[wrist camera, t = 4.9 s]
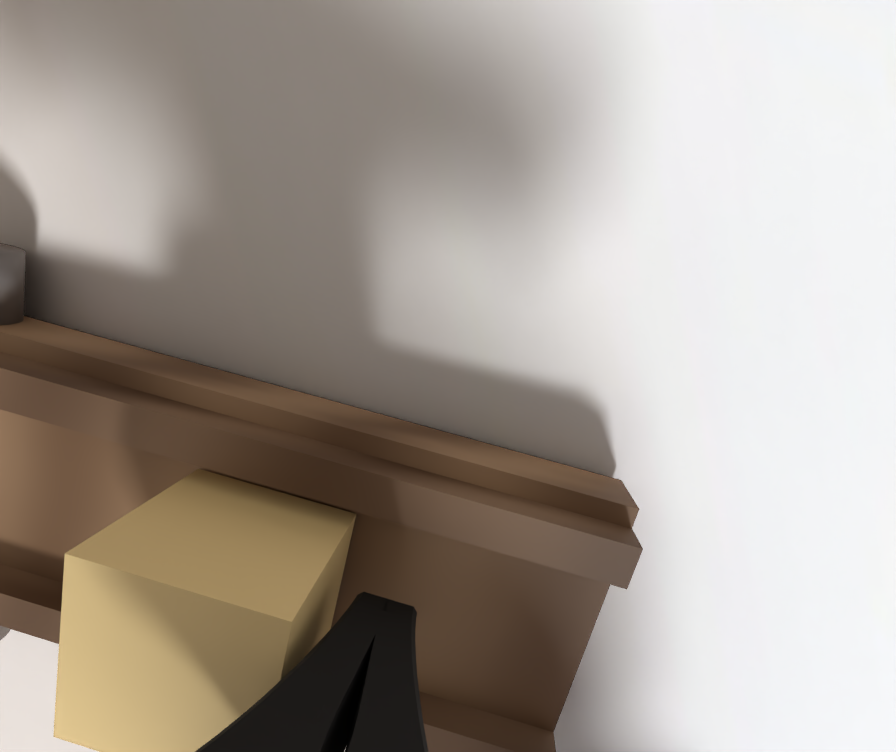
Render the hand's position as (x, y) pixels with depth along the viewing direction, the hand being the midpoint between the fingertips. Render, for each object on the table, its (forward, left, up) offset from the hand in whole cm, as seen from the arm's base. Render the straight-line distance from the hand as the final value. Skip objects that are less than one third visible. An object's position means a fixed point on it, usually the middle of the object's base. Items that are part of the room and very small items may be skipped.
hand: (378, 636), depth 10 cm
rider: (+3, 0, -1) cm, 4 cm away
